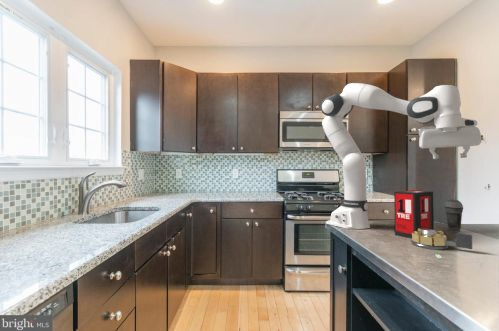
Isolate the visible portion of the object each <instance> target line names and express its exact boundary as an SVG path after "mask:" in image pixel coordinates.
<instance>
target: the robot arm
mask: <svg viewBox="0 0 499 331" xmlns="http://www.w3.org/2000/svg"><path fill="white" fill-rule="evenodd" d="M355 106H357V107H360V108H365V109H371V110H382V111H389V112H394V113H398V114H401V115H405V116H408V117H410V118H411V119H413V120H414V121H416V122H417V123H419V124H421V125H424V126H422V127H420V128H419V129H418V136H419V141H418V147H419V148H420V149H428V150H429V152H430V154H431V155H432V159H433V160H437V159H438V160H439V159H440V157H439V154H437V153H436V152H435V151H436V148H437V149H438V148H442V149H443V148H456V147H457V148H458V147H460V148H461V147H462V150H463V152H462V153H459V155H460V156H459V157H460V159H464V158H465V159H467V158H468V153H469V151H470V149H471V147H476V146H479V145H480V144H481V143H482V135H481V130H480V128H478V127H477V126H478V121H477V120H475V119H471V118H464V117H462V113H461V109H460V107H461V94H460V91H459V88H458V87H457V86H456V85H454V84H440V85H436V86H434V87H433V89H431V90H430V91H428V92H427V93H424V94H423V95H421V96H418V97H415V98H413V99H411V100H410V101H409V100H406V99H401V98H398V97H395V96H393V95H391V94H390V93H388V92H387V91H385V90H384V89H382V88H380V87H378V86H376V85H372V84H366V83H362V82H361V83H360V82H352V83H351V82H350V83H348V84H346V85H345V86H344V88H343V89H342V92H341V93H340V94H339V93H335V94H332V95H329V96H328V97H325V98H324V99H323V100H322V101H321V102H320V111H321V113H322V114H323V115H324V116H325V117H324V118H323V120H321V121H322V122H321V126H322V128H323V131H324V134H325V136H326V137H327V139H328V142H329V143H330V145H331V146H332V148H333V150H334V151H335V153H336V154H337V155H338V158H339V159H340V160H341V162H342V177H343V178H342V179H343V194H344V195H343V196H344V198H343V199H342V200H340V201H339V203H340V204H341V205H340V206H339V207H338V208H336V209H334V210H333V211H332V212H331V215H330V219H329V220H327V221H326V222H325V223H326V224H327V225H331V226H335V227H339V228H343V229H352V230H355V229H359V230H362V229H363V230H364V229H370V228H371V225H370V220H369V217H368V209H369V208H368V206H369V204H368V199H367V175H366V174H367V172H366V168H367V161H366V158H365V157H364V155H363V153H362V152H361V149H360V148H359V147H358V145H357V143H356V141H355V140H354V139H353V137H352V135H351V133H350V132H349V129H347V127H346V125H345V123H344V121H343V119H346V118H347V116H348V115H349V114H350V113H351V112H352V110H354V107H355ZM433 122H434V123H433ZM430 123H433V125H429V124H430ZM426 125H427V126H426Z"/></svg>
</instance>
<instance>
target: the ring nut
mask: <svg viewBox="0 0 499 331" xmlns="http://www.w3.org/2000/svg"><path fill="white" fill-rule="evenodd" d="M447 239H448V238H447V235H445V234H444V231H442V230H436V234H433V237H431V236H424V235H422V228H418V231H414V232H413V233H412V239H411V240H413V241H414V242H417V243H420V244H425V245H431V246H432V245H433V246H445V245H448V247H454V248H455V247H456V248H460V249H466V250H473V234H470V233H462V232H455V241H454V240H453V241H452V240H447Z"/></svg>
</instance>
